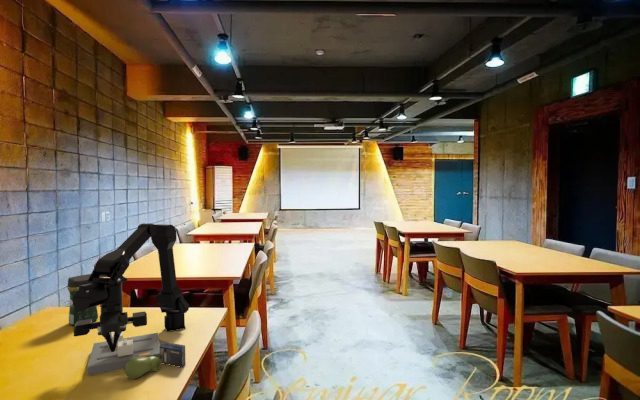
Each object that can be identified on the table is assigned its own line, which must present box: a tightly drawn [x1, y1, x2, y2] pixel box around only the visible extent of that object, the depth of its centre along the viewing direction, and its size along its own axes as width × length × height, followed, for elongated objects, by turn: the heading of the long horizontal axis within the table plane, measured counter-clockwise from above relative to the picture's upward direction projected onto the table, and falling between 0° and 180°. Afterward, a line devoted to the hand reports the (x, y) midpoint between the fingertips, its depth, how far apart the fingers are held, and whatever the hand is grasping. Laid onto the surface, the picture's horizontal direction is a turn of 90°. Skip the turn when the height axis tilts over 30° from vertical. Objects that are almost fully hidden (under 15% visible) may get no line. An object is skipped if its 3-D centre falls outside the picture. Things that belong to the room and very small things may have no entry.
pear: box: [124, 356, 162, 380], centre depth 105 cm, size 6×5×10 cm
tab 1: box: [108, 331, 124, 347], centre depth 119 cm, size 4×4×4 cm
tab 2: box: [118, 339, 133, 357], centre depth 112 cm, size 4×4×4 cm
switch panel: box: [86, 332, 160, 377], centre depth 116 cm, size 19×18×3 cm
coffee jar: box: [66, 273, 99, 326], centre depth 146 cm, size 10×8×19 cm
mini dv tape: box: [159, 341, 187, 368], centre depth 110 cm, size 8×2×6 cm, turn 69°
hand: (113, 351), depth 111 cm, fingers closed
